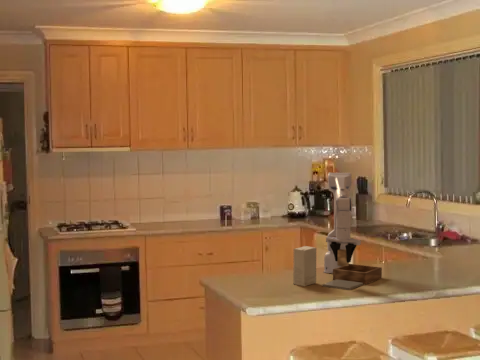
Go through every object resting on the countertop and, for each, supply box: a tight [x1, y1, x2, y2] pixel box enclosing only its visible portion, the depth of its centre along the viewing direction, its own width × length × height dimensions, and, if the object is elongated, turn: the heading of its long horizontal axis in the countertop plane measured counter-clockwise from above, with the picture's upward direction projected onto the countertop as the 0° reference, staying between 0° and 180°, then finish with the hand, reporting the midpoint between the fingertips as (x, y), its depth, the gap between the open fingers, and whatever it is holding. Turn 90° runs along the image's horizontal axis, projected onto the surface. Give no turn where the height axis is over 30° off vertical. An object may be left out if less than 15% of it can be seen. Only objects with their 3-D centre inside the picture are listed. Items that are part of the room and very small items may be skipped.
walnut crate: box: [332, 263, 383, 285], centre depth 306 cm, size 15×15×4 cm
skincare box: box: [292, 245, 317, 287], centre depth 296 cm, size 8×6×15 cm
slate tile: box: [322, 279, 364, 291], centre depth 293 cm, size 12×12×1 cm
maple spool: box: [337, 249, 350, 266], centre depth 293 cm, size 4×4×6 cm
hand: (343, 261), depth 293 cm, fingers closed on maple spool, 4 cm apart
